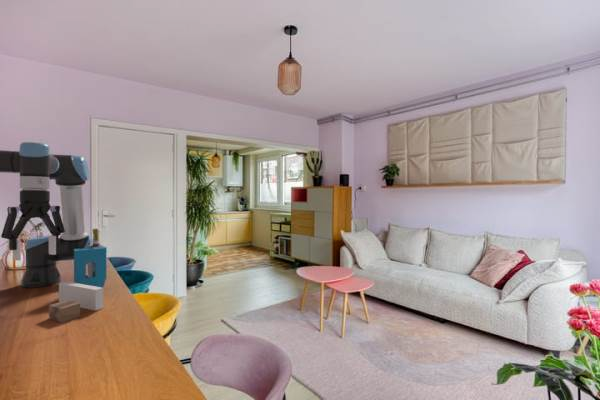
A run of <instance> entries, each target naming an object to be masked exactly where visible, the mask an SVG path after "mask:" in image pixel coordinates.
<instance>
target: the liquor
mask: <svg viewBox="0 0 600 400" xmlns="http://www.w3.org/2000/svg"><path fill="white" fill-rule="evenodd" d="M100 241H101V240H100V228H92V246H90V247H88V248H94V247H105V246H103V244H102V245H101V243H100ZM87 273H88V274H87V275H88V277H93V275H94V274H95V263H93V262H92V261H90V262H89V263H88V264H87Z"/></svg>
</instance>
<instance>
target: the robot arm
mask: <svg viewBox="0 0 600 400" xmlns="http://www.w3.org/2000/svg"><path fill="white" fill-rule="evenodd" d="M0 173H7V174H19V189H21V190H20V191H19V205H18V206H8V207H7V208H6V210H7V216H6V219H5V223H4V226H3V230H2V232H1V235H0V238H2V239H5V240H8V242H9V243H8V244H9V250H10V251H12V261H21V258H22V256H21V255H22V254H21V253H22V251H21V250H22V249H21V248H22V247H21V245H22V244H21V242H22V241H21V239H19V237H20V235H21V234H22V232H23V230H24V229H25V227H26V225H27V223H28V222H29V221H30V220H31V219H35V218H40V219H41V221H42V222H43V223H44V225H45V227H46V228H47V230H48V231H49V233H50V235H49V234H48V235H43V236H42V235H41V236H38V237H32V238H29V239H28V240H26V241H25V248H24V250H25V252H24V253H25V270H24V273H23V275H22V278H21V280H20V287H21V288H31V289H32V288H41V287H46V286H51V285H55V284H57V283H58V284H59V283H61V281H62V276H61V273H60V271H59V269H58V267H57V262H61V261H62V262H63V261H66V262H67V261H74V249H82V248H88V247H90V246H92V244H93V236H90V235H89V232H88V231H86V230H85V216H84V214H85V213H84V201H83V199H84V198H83V186H84V185H85V184H86V181H88V180H89V179H90V171H89V165H88V161H87V160H86V158H85V157H83V156H82V155H81V156H79V155H72V154H66V155H65V154H51V151H50V146H49V145H48V144H46V143H43V142H42V143H41V142H34V141H26V142H25V141H23V142H21V143H20V144H19V150H18V151H17V150H1V149H0ZM50 180H55V185H57V187H59V193H60V202H61V207H60V205H51V204H50V201H51V200H50V199H51V192H50V190H49V189H50V186H51V185H50V182H51V181H50ZM60 210H61V211H60ZM19 211H20V212H21V215H20V217H19V220H18V221H17V223H16V219H17V217H18V214H19ZM49 211H50V212H51V216H50V214H49V213H48V212H49ZM60 212H61V213H60ZM51 217H52V219H53V221H52V219H51ZM15 223H16V224H15Z"/></svg>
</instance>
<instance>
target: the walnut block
mask: <svg viewBox="0 0 600 400" xmlns="http://www.w3.org/2000/svg"><path fill="white" fill-rule="evenodd" d="M80 317H81V307H80V303H77V302H73V301H70V300H66V301H62V302H59V301H58V302H56V303H51V304H49V305H48V319H50V320H53V321H55V322H59V323H60V324H61V323H62V324H63V323H65V322H67V321H72V320H74V319H77V318H80Z"/></svg>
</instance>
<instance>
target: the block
mask: <svg viewBox="0 0 600 400" xmlns="http://www.w3.org/2000/svg"><path fill="white" fill-rule="evenodd" d="M107 256H108V255H107V246H104V247H94V248H82V249H74V260H73V283H79V284H85V285H90V286H96V287H101V288H103V289H104V287H105V284H106V280H107V268H108V267H107V265H108V264H107V263H108V262H107ZM90 261H92V262H93V263H95V274H94V275H93V277H88V274H87V266H88V263H89V262H90Z"/></svg>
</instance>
